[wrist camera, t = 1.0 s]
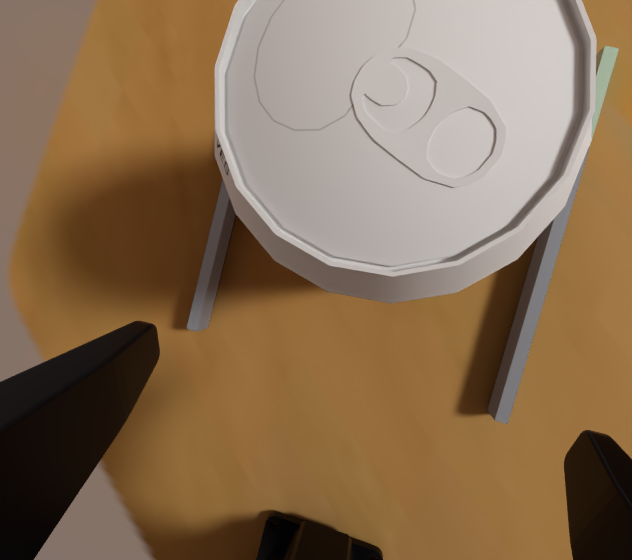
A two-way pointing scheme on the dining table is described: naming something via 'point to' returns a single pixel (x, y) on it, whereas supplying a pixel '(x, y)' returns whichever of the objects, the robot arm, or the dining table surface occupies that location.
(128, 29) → the dining table surface
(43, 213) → the dining table surface
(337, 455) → the dining table surface
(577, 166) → the supplement can
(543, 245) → the grey bars
